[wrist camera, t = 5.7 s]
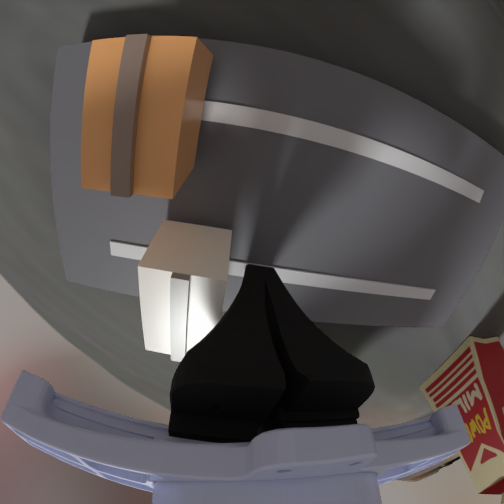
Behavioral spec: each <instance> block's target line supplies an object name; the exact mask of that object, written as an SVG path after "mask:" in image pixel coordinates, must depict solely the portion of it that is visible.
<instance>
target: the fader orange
mask: <svg viewBox="0 0 504 504" xmlns="http://www.w3.org/2000/svg"><path fill="white" fill-rule="evenodd" d="M212 59H213V54H212V53H211V52H210V51H209V50H208V49H207V47H206V46H205V45H204V44H203V43H202V42H201V41H200V40H199V39H198V37H190V36H151V35H149V34H132V35H126V37H118V38H108V39H99V40H93V41H92V46H91V51H90V56H89V62H88V69H87V75H86V83H85V91H84V101H83V113H82V130H81V187H82V188H84V189H94V190H103V191H111V196H118V197H126V198H130V197H131V196H132V195H133V194H137V195H145V196H153V197H160V198H167V199H173V198H174V196H175V195H176V193H177V192H178V190H179V189H180V187H181V186H182V184H183V183H184V181H185V180H186V178H187V177H188V175H189V174H190V172H191V171H192V169H193V168H194V165H195V157H196V150H197V143H198V136H199V130H200V124H201V118H202V112H203V106H204V100H205V95H206V89H207V84H208V79H209V74H210V69H211V64H212Z"/></svg>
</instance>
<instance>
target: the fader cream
mask: <svg viewBox="0 0 504 504" xmlns="http://www.w3.org/2000/svg"><path fill="white" fill-rule="evenodd" d="M231 237H232V230H228V229H222V228H216V227H209V226H203V225H196V224H190V223H183V222H177V221H170V220H163V222H162V223H161V225H160V227H159V229H158V230H157V232H156V234H155V236H154V237H153V239H152V241H151V243H150V244H149V246H148V248H147V250H146V252H145V254H144V255H143V257H142V259H141V261H140V263H139V265H138V279H139V293H140V305H141V316H142V325H143V334H144V341H145V349H146V350H150V351H155V352H160V353H165V354H171V360H173V361H178V362H181V361H182V359H183V358H184V356H185V354H186V353H187V351H188V350H190V349H191V348H192V347H193V346H195V345H196V344H197V343H198V342H200V341H201V340H202V339H203V338H204V337H205V336H206V335H207V334H208V333H209V332H210V331H211V330H212V329H213V328H214V327H215V326H216V324H217V323H218V322H219V321H220V320H221V314H222V308H223V303H224V297H225V291H226V286H227V280H228V269H229V258H230V247H231Z"/></svg>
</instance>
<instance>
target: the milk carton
mask: <svg viewBox="0 0 504 504" xmlns="http://www.w3.org/2000/svg"><path fill="white" fill-rule="evenodd" d="M419 388H420V390H421V391H422V393H423V394H424V396H425V397H426V399H427V401H428V402H429V404H430V406H431V407H432V409H433V410H434V412H436V411H437V410H439V409H440V408H443V407H446V406H449V405H453V404H457V406H458V409H459V411H460V414H461V416H462V419H463V421H464V424H465V427H466V429H467V432H468V435H469V438H470V440H471V443H470V444H469V445H467V446H466V447H464V448H463V449H461V450H460V451H458V454H459V456H460V457H461V459H462V461H463V463H464V465H465V467H466V469H467V471H468V473H469V475H470V477H471V479H472V481H473V483H474V485H475V487H476V489H477V491H478V493H479V494H502V499H501V504H503V503H504V348H503V346H502V344H501V342H500V340H499V339H498V337H492V338H487V339H481V338H477V337H472V336H469V337H468V338H467V339H466V340H465V341H464V342H463V343H462V345H461V346H460V347H459V348H458V349H457V350H456V351H455V352H454V353H453V354H452V355H451V356H450V357H449V358H448V359H447V360H446V361H445V362H444V363H443V365H442V366H441V367H440V368H439V369H438V370H437V371H436V372H435V373H433V374H432V375H431V376H430V377H429V378H428V379H427V380H426V381H425V382H424V383H423V384H422V385H421V386H420V387H419Z"/></svg>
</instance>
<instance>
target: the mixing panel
mask: <svg viewBox="0 0 504 504" xmlns="http://www.w3.org/2000/svg"><path fill="white" fill-rule="evenodd" d="M198 39H199V40H200V41H201V42H202V43H203V44H204V45H205V46H206V47H207V49H208V50H209V51H210V52H211V53H212V54H213V59H212V64H211V69H210V74H209V79H208V84H207V89H206V95H205V100H204V106H203V112H202V118H201V124H200V130H199V136H198V143H197V150H196V157H195V165H194V168H193V169H192V171H191V172H190V174H189V175H188V177H187V178H186V180H185V181H184V183H183V184H182V186H181V187H180V189H179V190H178V192H177V193H176V195H175V196H174V198H173V199H167V198H160V197H153V196H145V195H137V194H133V195H132V196H131V197H130V198H126V197H118V196H111V191H103V190H94V189H84V188H82V187H81V130H82V113H83V101H84V91H85V83H86V75H87V69H88V62H89V56H90V51H91V46H92V42H85V43H79V44H73V45H67V46H62V47H58V53H57V59H56V65H55V72H54V80H53V89H52V100H51V116H50V168H51V184H52V196H53V206H54V214H55V221H56V228H57V235H58V241H59V246H60V251H61V257H62V261H63V266H64V271H65V275H66V279H67V281H69V282H73V283H78V284H82V285H86V286H90V287H95V288H99V289H104V290H108V291H113V292H118V293H122V294H127V295H132V296H137V297H140V293H139V279H138V265H139V263H140V261H141V259H142V257H143V255H144V254H145V252H146V250H147V248H148V246H149V244H150V243H151V241H152V239H153V237H154V236H155V234H156V232H157V230H158V229H159V227H160V225H161V223H162V222H163V220H170V221H177V222H183V223H190V224H196V225H203V226H209V227H216V228H222V229H228V230H232V237H231V247H230V258H229V269H228V280H227V286H226V291H225V297H224V303H223V308H222V311H226V312H227V310H228V309H229V307H230V306H231V304H232V303H233V301H234V299H235V297H236V295H237V294H238V292H239V290H240V287H241V285H242V281H243V276H244V272H245V268H246V265H248V264H252V265H259V266H265V267H272V268H274V269H275V270H276V272H277V274H278V275H279V277H280V279H281V280H282V282H283V284H284V285H285V287H286V289H287V290H288V292H289V293H290V295H291V296H292V298H293V299H294V300H295V302H296V303H297V305H298V306H299V307H300V308H301V310H302V311H303V312H304V313H305V315H306V316H307V317H308V318H309V319H310V320H311V321H313V322H324V323H337V324H352V325H368V326H390V327H427V328H442V326H443V325H444V324H445V322H446V321H447V320H448V318H449V317H450V315H451V314H452V312H453V311H454V309H455V308H456V306H457V305H458V303H459V302H460V300H461V299H462V297H463V296H464V294H465V292H466V291H467V289H468V288H469V286H470V284H471V283H472V281H473V279H474V277H475V276H476V274H477V272H478V270H479V269H480V267H481V265H482V263H483V261H484V260H485V258H486V256H487V254H488V252H489V250H490V248H491V246H492V244H493V242H494V240H495V238H496V236H497V233H498V231H499V229H500V227H501V224H502V222H503V220H504V155H502V154H501V153H500V152H499V151H497V150H496V149H495V148H493V147H492V146H491V145H490V144H488V143H487V142H485V141H484V140H483V139H481V138H480V137H478V136H477V135H476V134H474V133H473V132H471V131H470V130H468V129H467V128H465V127H464V126H462V125H461V124H459V123H458V122H456V121H454V120H453V119H451V118H449V117H448V116H446V115H444V114H443V113H441V112H439V111H438V110H436V109H434V108H432V107H430V106H429V105H427V104H425V103H423V102H421V101H419V100H417V99H415V98H413V97H411V96H409V95H407V94H405V93H403V92H401V91H399V90H397V89H395V88H393V87H390V86H388V85H386V84H384V83H381V82H379V81H376V80H374V79H372V78H369V77H367V76H364V75H361V74H359V73H356V72H353V71H351V70H348V69H345V68H342V67H339V66H336V65H333V64H330V63H327V62H324V61H320V60H317V59H313V58H310V57H306V56H302V55H299V54H295V53H291V52H286V51H282V50H277V49H273V48H268V47H262V46H257V45H251V44H245V43H238V42H231V41H223V40H214V39H202V38H198Z"/></svg>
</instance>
